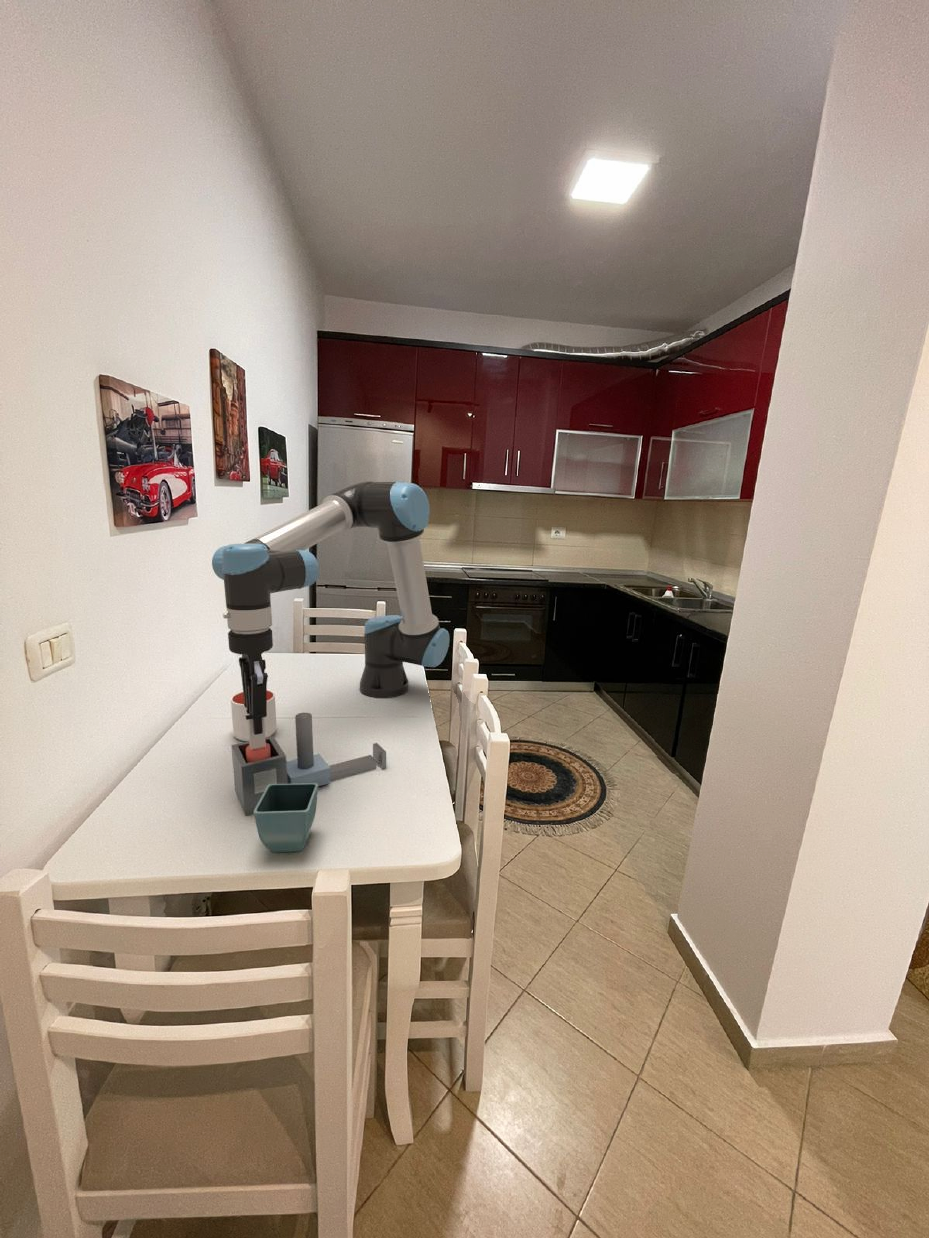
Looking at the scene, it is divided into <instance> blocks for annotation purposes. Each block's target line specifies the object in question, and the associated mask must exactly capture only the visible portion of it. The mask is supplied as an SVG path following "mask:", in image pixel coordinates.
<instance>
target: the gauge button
mask: <svg viewBox="0 0 929 1238" xmlns="http://www.w3.org/2000/svg"><path fill="white" fill-rule="evenodd" d="M267 758H271V753H270V745H269V744H268V743H266V747H262V748H258V749H253V750H251V749H250V747H249V746H247V748H246V760H247V763H250V762H254V761H258V760H262V759H267Z"/></svg>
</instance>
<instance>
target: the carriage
mask: <svg viewBox="0 0 929 1238" xmlns="http://www.w3.org/2000/svg"><path fill="white" fill-rule="evenodd" d="M294 718H295V720H294V722H295V737H296V738H295V739H296V759H292V760H288V761H287V760H286V763H287V781H288V783H289V784H294V783H295V784H296V783H318V787H322V786H325V785H328V784H330V782H329V777H331V774H330V767H329V764H328V763H327V761H326V760H325V759H324V757H323V756H322V755H321V754H320V753H317V754H314V737H313V734H314V733H313V715H312V713H310V712H300V713H296V715H295V716H294Z"/></svg>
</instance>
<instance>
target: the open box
mask: <svg viewBox="0 0 929 1238" xmlns="http://www.w3.org/2000/svg"><path fill="white" fill-rule="evenodd" d="M265 741H266V743H268V744H269V745H270V753H271V758H267V759H262V760H258V761H254V762H250V763H247V760H246V748H247V746H249V741H243V742H239V743H233V744H231V745H230V746H231V758H232V759H231V760H232V769H233V770H232V771H233V772H232V773H233V783H234V791H235V794H236V796H237V799H238V802H239V804H240V806H241V809H242V812H243V813H244V816H249V815H252V814H254V813H253V812H254V809H255V807H256V806H257V804H258V802H259V800H260V799H261V797H262V795H263V793H264V791H265V789H266V787H267V786H268V785H269V784H288V782H287V763H286V762H287V755H286V754H285V752H284V751H283V749H282V747H281V746H280V744H279V742H278V741H277V740H276V738H275V736H274V735H271V736H270V737H266V738H265Z"/></svg>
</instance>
